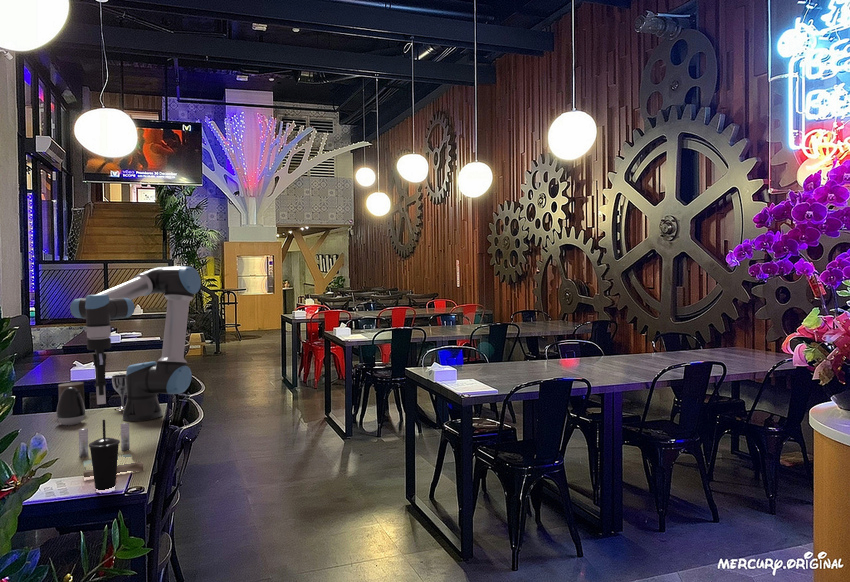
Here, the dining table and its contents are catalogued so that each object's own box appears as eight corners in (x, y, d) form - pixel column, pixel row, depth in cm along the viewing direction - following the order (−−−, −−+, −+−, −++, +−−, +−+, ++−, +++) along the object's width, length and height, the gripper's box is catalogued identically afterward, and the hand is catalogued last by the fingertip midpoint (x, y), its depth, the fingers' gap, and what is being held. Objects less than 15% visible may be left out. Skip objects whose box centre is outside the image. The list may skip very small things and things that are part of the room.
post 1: (87, 454, 207) (87, 427, 207) (88, 456, 205) (87, 429, 205) (79, 455, 206) (78, 428, 206) (79, 457, 204) (78, 430, 203)
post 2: (129, 448, 214) (128, 422, 214) (130, 450, 212) (129, 424, 212) (120, 449, 213) (120, 423, 212) (121, 451, 210) (121, 425, 210)
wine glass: (134, 406, 283) (133, 373, 283) (129, 410, 275) (128, 376, 275) (116, 407, 282) (115, 374, 281) (110, 411, 274) (109, 377, 273)
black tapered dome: (70, 427, 244) (69, 389, 243) (50, 426, 247) (49, 388, 247) (91, 421, 254) (90, 385, 253) (72, 420, 257) (71, 384, 256)
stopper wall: (142, 469, 190) (142, 461, 190) (143, 471, 189) (143, 463, 189) (83, 479, 182) (83, 470, 182) (83, 481, 180) (83, 472, 180)
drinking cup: (105, 485, 176) (103, 416, 176) (127, 487, 174) (125, 417, 173) (83, 494, 169) (81, 422, 168) (105, 497, 167) (104, 424, 166)
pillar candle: (88, 415, 266) (87, 380, 266) (63, 419, 259) (62, 383, 259) (80, 412, 273) (79, 378, 273) (55, 415, 266) (54, 381, 265)
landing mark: (130, 454, 207) (130, 453, 207) (136, 465, 195) (136, 464, 195) (82, 461, 199) (82, 461, 199) (85, 473, 187) (85, 472, 187)
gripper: (85, 337, 222) (88, 401, 223) (88, 340, 211) (90, 408, 212) (108, 335, 226) (111, 399, 227) (112, 338, 215) (115, 405, 216)
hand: (101, 403), depth 220 cm, fingers closed
